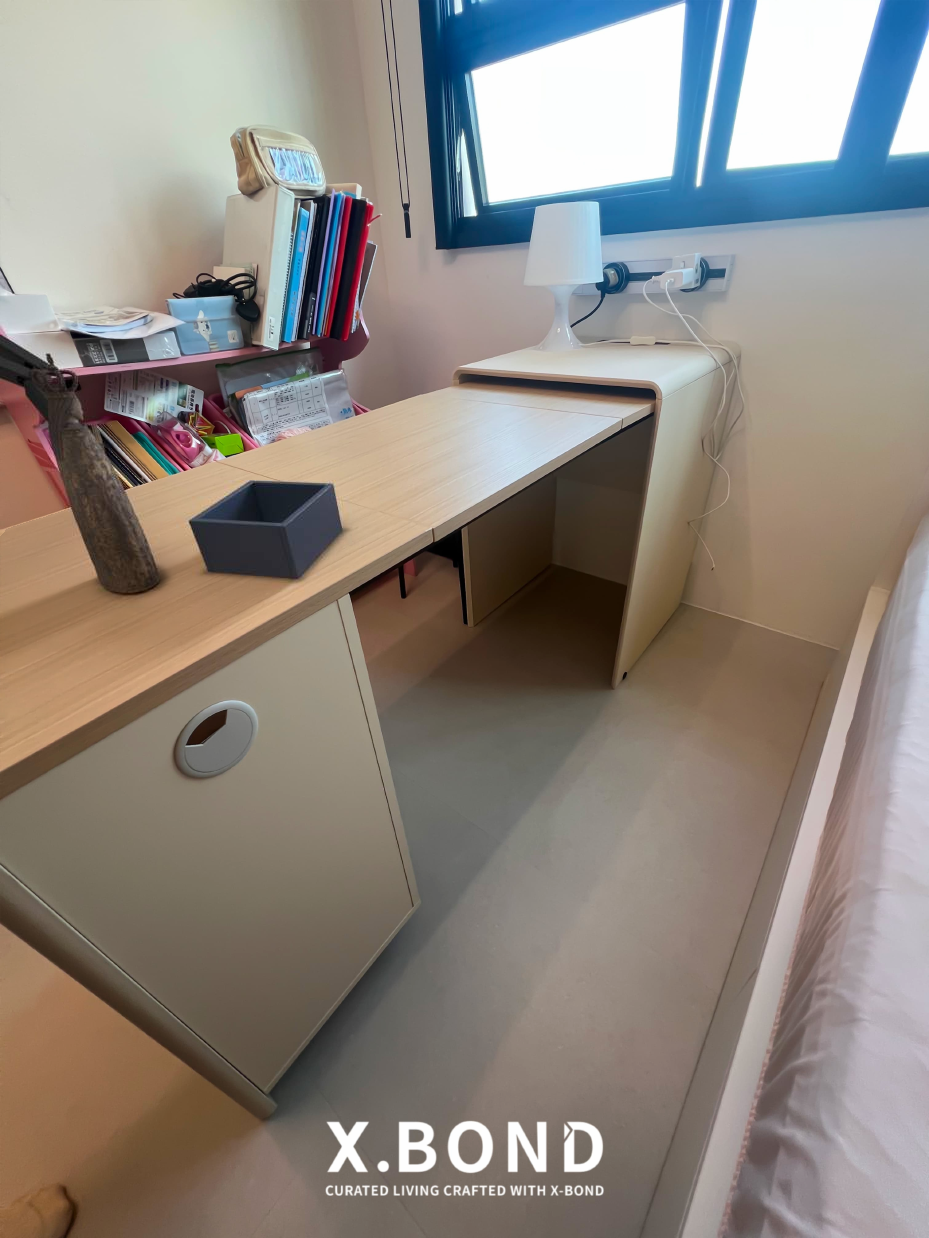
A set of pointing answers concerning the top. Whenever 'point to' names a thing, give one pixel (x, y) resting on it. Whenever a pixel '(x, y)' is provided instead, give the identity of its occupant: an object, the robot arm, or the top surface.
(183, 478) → the top surface
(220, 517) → the bin
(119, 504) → the statue
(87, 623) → the top surface
